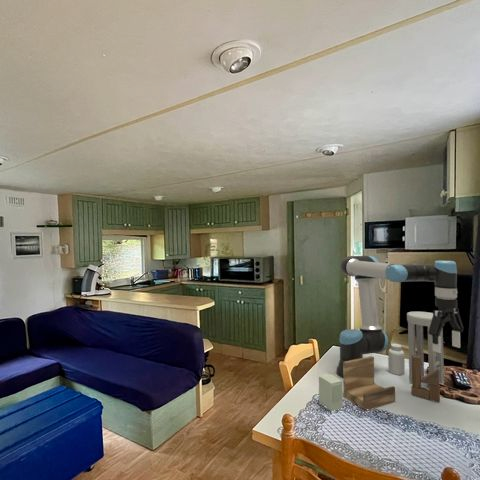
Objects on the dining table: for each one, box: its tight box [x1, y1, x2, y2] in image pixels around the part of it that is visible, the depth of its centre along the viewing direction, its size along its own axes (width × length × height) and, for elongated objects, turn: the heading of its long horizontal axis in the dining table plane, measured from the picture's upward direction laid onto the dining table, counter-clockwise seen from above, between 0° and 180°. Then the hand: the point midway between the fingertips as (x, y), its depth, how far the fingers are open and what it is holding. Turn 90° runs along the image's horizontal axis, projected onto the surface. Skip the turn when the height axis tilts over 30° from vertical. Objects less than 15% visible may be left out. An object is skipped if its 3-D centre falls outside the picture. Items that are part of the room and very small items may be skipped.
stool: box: [406, 311, 445, 385], centre depth 146 cm, size 16×16×35 cm
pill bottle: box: [387, 343, 406, 376], centre depth 160 cm, size 8×8×15 cm
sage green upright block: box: [318, 373, 344, 412], centre depth 126 cm, size 8×6×12 cm
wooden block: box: [410, 354, 441, 403], centre depth 133 cm, size 4×11×18 cm, turn 51°
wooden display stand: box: [342, 355, 396, 411], centre depth 131 cm, size 13×18×16 cm
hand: (446, 349), depth 119 cm, fingers open, 13 cm apart
